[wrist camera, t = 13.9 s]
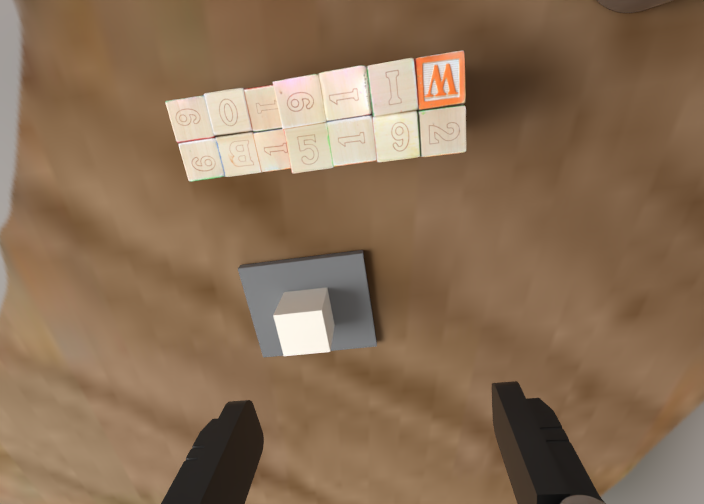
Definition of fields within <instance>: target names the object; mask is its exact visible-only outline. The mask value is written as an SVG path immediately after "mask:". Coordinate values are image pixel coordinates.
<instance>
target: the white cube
mask: <svg viewBox="0 0 704 504" xmlns="http://www.w3.org/2000/svg"><path fill="white" fill-rule="evenodd" d="M273 317H274V321H275V324H276V328H277V332H278V336H279V340H280V344H281V348H282V352H283V355H284V356H291V355H302V354H312V353H323V352H330V350H331V344H332V338H333V332H334V326H335V325H334V320H333V314H332V309H331V304H330V299H329V294H328V288H327V287H326V288H317V289H308V290H299V291H290V292H284V293H283V295H282V297H281V300H280V302H279V304H278V306H277V308H276V310H275V313H274V315H273Z"/></svg>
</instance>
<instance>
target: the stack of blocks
mask: <svg viewBox="0 0 704 504" xmlns="http://www.w3.org/2000/svg"><path fill="white" fill-rule="evenodd" d="M465 96H466V93H465V54H464V51H456V52H450V53H444V54H438V55H431V56H425V57H419V58H416V59H414V58H407V59H402V60H396V61H391V62H385V63H380V64H374V65H369V66H364V65H359V66H353V67H349V68H343V69H337V70H331V71H326V72H322V73H319V74H312V75H306V76H301V77H295V78H289V79H284V80H278V81H274V82H273V85H268V86H261V87H254V88H248V89H247V88H236V89H229V90H222V91H216V92H210V93H205V94H204V95H203V96H197V97H190V98H183V99H176V100H170V101H166V102H165V103H166V106H167V110H168V113H169V117H170V120H171V123H172V127H173V131H174V134H175V138H176V141H177V142H178V144H179V149H180V152H181V156H182V159H183V163H184V166H185V170H186V173H187V176H188V180H189V181H198V180H205V179H213V178H219V177H224V176H226V177H231V176H238V175H245V174H253V173H260V172H268V171H276V170H282V169H289V168H291V171H292V173H300V172H308V171H314V170H321V169H329V168H333V167H335V166H342V165H350V164H357V163H365V162H372V161H377V162H386V161H393V160H401V159H409V158H417V157H420V156H421V157H430V156H439V155H447V154H456V153H463V152H466V106H465V105H464V103H465Z"/></svg>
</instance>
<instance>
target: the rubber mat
mask: <svg viewBox="0 0 704 504" xmlns="http://www.w3.org/2000/svg"><path fill="white" fill-rule="evenodd" d="M238 271H239V275H240V278H241V282H242V285H243V289H244V292H245V296H246V299H247V303H248V306H249V310H250V313H251V317H252V320H253V324H254V327H255V330H256V334H257V337H258V341H259V344H260V348H261V351H262V355H263V357H272V356H282V355H283V352H282V348H281V344H280V340H279V336H278V332H277V328H276V324H275V321H274V317H273V315H274V313H275V310H276V308H277V306H278V304H279V302H280V300H281V297H282V295H283V293H284V292H290V291H299V290H308V289H317V288H326V287H327V288H328V294H329V299H330V304H331V309H332V314H333V320H334V325H335V326H334V332H333V338H332V344H331V350H330V351H334V350H344V349H354V348H364V347H374V346H377V340H376V334H375V327H374V321H373V314H372V307H371V301H370V294H369V288H368V281H367V275H366V268H365V262H364V255H363V250H358V251H350V252H342V253H334V254H326V255H318V256H310V257H302V258H294V259H286V260H278V261H270V262H262V263H254V264H246V265H240V267H239V268H238Z"/></svg>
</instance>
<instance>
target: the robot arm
mask: <svg viewBox="0 0 704 504" xmlns="http://www.w3.org/2000/svg"><path fill="white" fill-rule="evenodd" d="M597 1H598V2H599V3H600V4H601V5H603V6H604V7H606V8H608V9H610V10H613V11H616V12H620V13H633V12H639V11H644V10H647V9H649V8H652V7H655V6H658V5H661V4H664V3H667V2H670V1H673V0H597ZM492 410H493V425H494V431H495V435H496V439H497V442H498V445H499V448H500V451H501V454H502V457H503V461H504V464H505V467H506V470H507V473H508V476H509V479H510V482H511V485H512V488H513V491H514V494H515V497H516V500H517V503H518V504H606V503H604V501H603V500H602V499H601V497H600V496H599V494H598V493H597V491H596V489H595V487H594V485H593V483H592V481H591V480H590V478H589V476H588V474H587V472H586V470H585V468H584V467H583V465H582V463H581V461H580V459H579V457H578V455H577V454H576V452H575V450H574V448H573V446H572V444H571V443H570V442H569V439H568V437H567V435H566V433H565V431H564V429H562V426H561V424H560V422H559V420H558V418H557V416H556V415H555V413H554V411H553V410H552V409H551V408H550V407H549V406H548V405H546V404H545V403H544V402H543V401H542V400H541V399H540V398H531V399H526V398H525V396H524V394H523V391H522V389H521V387H520V385H519V383H518V382H517V381H515V382H502V383H492ZM263 444H264V437H263V432H262V429H261V426H260V423H259V420H258V417H257V414H256V411H255V408H254V405H253V403H252V402H251V401H250V400H246V401H232V402H228V403H227V404H226V405H225V407H224V409H223V411H222V413H221V414H220V416H219V418H218V419H212V420H211V421H210V422H209V423H208V424H207V425H206V426H205V428H204V429H203V430H202V431H201V432H200V433H199V435H198V437H197V439H196V441H195V442H194V444H193V446H192V447H193V448H192V449H191V450H190V452H189V453H188V455H187V457H186V461H184V463H183V465H182V466H181V468H180V470H179V472H178V474H177V476H176V477H175V479H174V481H173V483H172V485H171V487H170V488H169V490H168V492H167V494H166V496H165V498H164V499H163V501H162V503H161V504H245V501H246V498H247V495H248V492H249V489H250V486H251V483H252V481H253V478H254V475H255V472H256V469H257V466H258V463H259V460H260V457H261V454H262V451H263Z"/></svg>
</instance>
